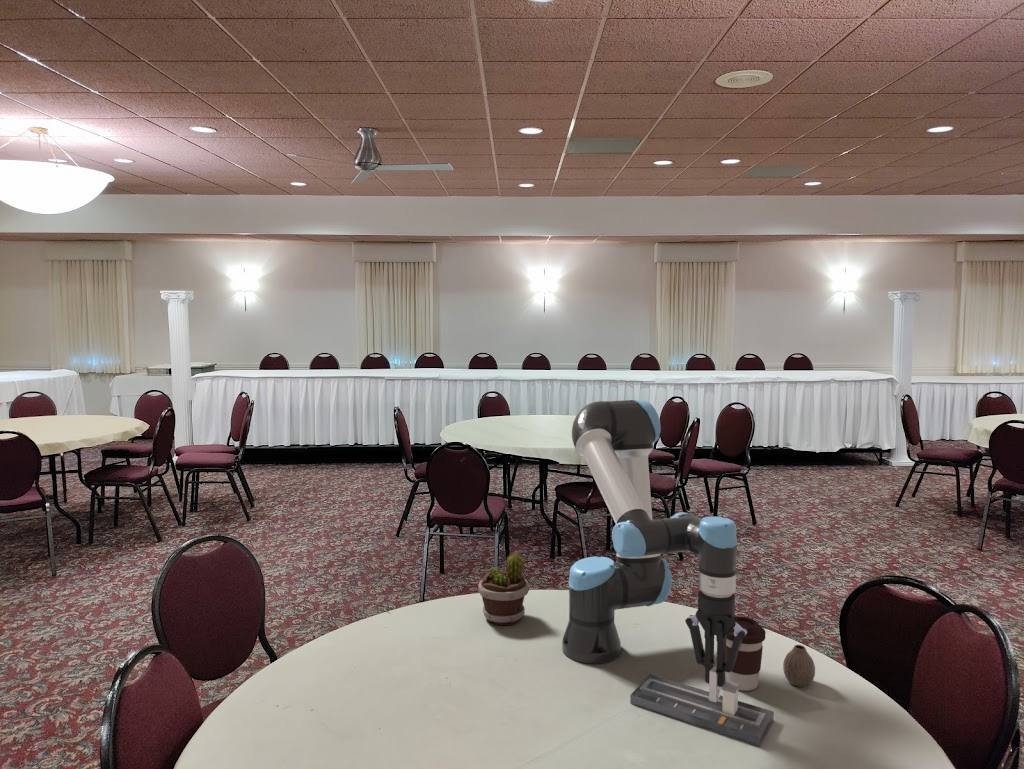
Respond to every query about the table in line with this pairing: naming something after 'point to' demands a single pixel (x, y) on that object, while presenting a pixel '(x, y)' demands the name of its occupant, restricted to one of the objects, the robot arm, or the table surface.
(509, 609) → the flowerpot
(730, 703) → the fader knob
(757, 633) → the coffee cup
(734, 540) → the robot arm
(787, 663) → the vase
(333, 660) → the table surface
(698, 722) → the console
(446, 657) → the table surface
